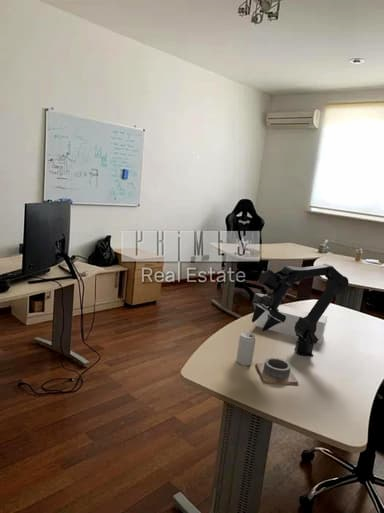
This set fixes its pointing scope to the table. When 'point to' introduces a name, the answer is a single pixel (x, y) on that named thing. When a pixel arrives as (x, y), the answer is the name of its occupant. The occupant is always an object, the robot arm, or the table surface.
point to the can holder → (276, 371)
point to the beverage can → (245, 348)
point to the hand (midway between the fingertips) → (257, 326)
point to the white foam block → (292, 322)
